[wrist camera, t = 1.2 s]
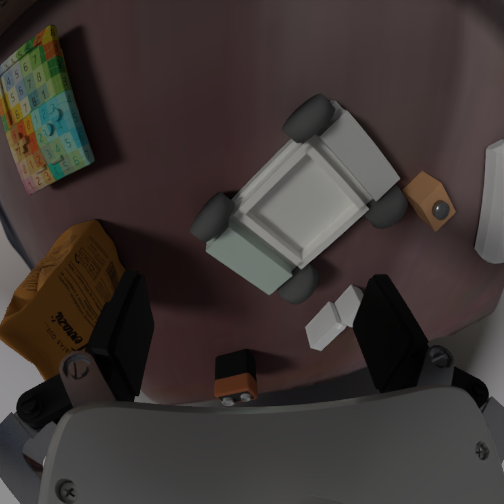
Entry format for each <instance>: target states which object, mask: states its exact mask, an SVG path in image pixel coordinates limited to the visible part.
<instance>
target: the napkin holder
mask: <svg viewBox="0 0 504 504" xmlns="http://www.w3.org/2000/svg"><path fill="white" fill-rule="evenodd" d="M362 298H363V293H362V291H361V289H359V288H357V287H355V286H353V285H350V286H349V287H348V288H347V290H346V291H345V292H344V293H343V294H342V295H341V296H340V297H339V298H338V300H337V301H336V302H335V303H332V302H328V303H327V304H326V305H325V306H324V307H323V309H322V310H321V311H320V312H319V313H318V314H317V315H316V316H315V317H314V318H313V319H312V320H311V321H310V323H309V324H308V325H307V326H306V327H305V328H306V332H307V336H308V340H309V344H310V348H313V349H316V350H320V351H321V350H322V349H323V348H324V347H326V346H327V345H328V344H329V343H330V342H331V341H332V340H333V339H334V338H335V337H336V336H337V335H338V334H339V333H340V332H341V331H343V330H344V329H345V328H346V326H349V327H353V321H354V318H355V316H356V313H357V311H358V308H359V306H360V303H361V300H362Z"/></svg>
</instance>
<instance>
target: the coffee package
mask: <svg viewBox="0 0 504 504" xmlns="http://www.w3.org/2000/svg"><path fill="white" fill-rule="evenodd" d="M124 271H126V270H125V269H124V267H123V266H122V264H121V263H120V261H119V258H118V254H117V250H116V247H115V244H114V242H113V241H112V239H111V238H110V237H109V236H108V235H107V234H106V233H105V231H104V229H103V227H102V226H101V224H100V223H99V221H97V220H90V221H87V222H83V223H79V224H75V225H73V226H71V227H70V228H69V229H67V230H66V231H65V232H64V233H63V234H62V235H60V237H59V238H58V239H57V240H56V242H55V243H54V245H53V246H52V248H51V249H50V250H49V252H48V253H47V255H46V256H45V258H43V259H42V260H40V261H39V263H38V264H37V266H36V267H35V268H34V269H33V270H32V271H31V272H30V273H29V275H28V276H27V277H26V279H25V280H24V281H23V282H22V283H21V284H20V286H19V287H18V288H17V290H16V291H15V292H14V294H13V298H12V300H11V302H10V304H9V306H8V307H7V310H6V314H5V316H4V318H3V320H2V322H1V324H0V339H1V341H3V342H4V343H5V344H6V345H8V346H9V347H10V348H12V349H13V350H15V351H16V352H17V353H19V354H20V355H21V356H23V357H24V358H25V359H27V360H28V361H30V362H31V363H33V364H34V365H35V366H36V367H37V369H38V371H39V372H40V374H41V375H42V377H43V379H44V380H45V381H46V380H48V379H50V378H52V377H54V376H55V375H57V374H59V373H60V372H59V366H60V363H61V361H62V359H63V358H64V357H65V356H66V355H68V354H69V353H71V352H74V351H85V348H86V346H87V343H88V341H89V338H90V336H91V334H92V331H93V329H94V326H95V324H96V322H97V319H98V317H99V315H100V313H101V310H102V308H103V306H104V304H105V303H106V302H107V301H108V302H110V301H111V299H112V296H113V294H114V292H115V290H116V288H117V286H118V283H119V281H120V279H121V277H122V275H123V273H124Z"/></svg>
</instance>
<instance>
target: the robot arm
mask: <svg viewBox="0 0 504 504" xmlns="http://www.w3.org/2000/svg"><path fill="white" fill-rule="evenodd" d="M153 331H154V320H153V316H152V312H151V307H150V303H149V298H148V293H147V288H146V283H145V278H144V275H140V273H139V271H124V273H123V275H122V277H121V279H120V281H119V283H118V286H117V288H116V290H115V292H114V294H113V296H112V299H111V301H110V302H108V301H107V302H106V303H105V304H104V306H103V308H102V310H101V313H100V315H99V317H98V319H97V322H96V324H95V326H94V329H93V331H92V334H91V336H90V338H89V341H88V343H87V346H86V348H85V351H74V352H71V353H69V354H68V355H66V356H65V357H64V358H63V359H62V361H61V363H60V366H59V372H60V373H59V374H57V375H55V376H54V377H52V378H50V379H48V380H46V381H45V382H43V383H41V384H39V385H38V386H36V387H34V388H32V389H30V390H28V391H26V392H25V393H23V394H22V395H21V396H20V398H19V399H18V402H17V406H16V410H17V411H16V413H14V414H13V413H12V412H11V413H10V414H9V415H8V416H7V417H6V418H5V419H4V420H3V422H2V423H1V424H0V477H1V479H2V480H3V482H4V483H5V484H6V486H7V487H8V488H9V490H10V491H11V492H12V494H13V495H14V496H15V497H16V499H17V500H18V501H19V502H20V504H504V472H503V469H502V465H501V463H502V462H503V460H504V407H503V406H502V405H501V404H500V403H499V402H498V401H496V400H495V399H494V398H493V397H490V398H489V392H488V389H487V387H486V385H485V384H484V382H482V381H481V380H480V379H478V378H476V377H474V376H472V375H470V374H468V373H466V372H464V371H462V370H461V369H458V368H457V367H455V366H454V365H455V361H454V357H453V355H452V354H451V352H450V351H449V350H448V349H447V348H445V347H443V346H440V345H433V346H430V347H429V346H428V345H427V343H428V340H427V338H426V336H425V335H424V333H423V331H422V329H421V328H420V326H419V324H418V323H417V321H416V319H415V318H414V316H413V314H412V313H411V311H410V309H409V308H408V306H407V304H406V303H405V301H404V300H403V298H402V296H401V295H400V293H399V292H398V290H397V289H396V287H395V286H394V284H393V283H392V281H391V279H390V278H389V276H388V275H386V274H378V275H374V276H373V277H372V278H370V279H369V281H368V284H367V287H366V290H365V292H364V295H363V298H362V300H361V303H360V306H359V308H358V311H357V313H356V316H355V318H354V321H353V331H354V333H355V335H356V338H357V341H358V343H359V346H360V348H361V351H362V353H363V356H364V358H365V361H366V364H367V366H368V369H369V372H370V374H371V377H372V380H373V382H374V385H375V387H376V389H378V390H379V391H380V394H376V395H371V396H365V397H359V398H353V399H346V400H339V401H331V402H322V403H313V404H304V405H290V406H274V407H239V408H238V407H237V408H227V407H226V408H225V407H192V406H176V405H162V404H151V403H138V402H134V399H135V396H139V394H140V389H141V384H142V379H143V375H144V370H145V365H146V361H147V357H148V352H149V348H150V344H151V339H152V335H153ZM45 456H46V459H45V463H44V468H43V460H44V458H45Z"/></svg>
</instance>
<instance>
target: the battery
mask: <svg viewBox="0 0 504 504" xmlns="http://www.w3.org/2000/svg"><path fill="white" fill-rule="evenodd" d="M215 396H216V397H217V398H218V399H219V400H220V401H221V402H222V404H223V405H224V406H231V405H233V404H234V403H237V402H242V401H249V400H251V399H256V398H257V397H258V393H257V380H256V367H255V360H254V358H253V357H252V355H251V354H250V353H249V351H248V350H247V349H245V350H241V351H238V352H234V353H230V354H226V355H222V356H219V357H216V362H215Z"/></svg>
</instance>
